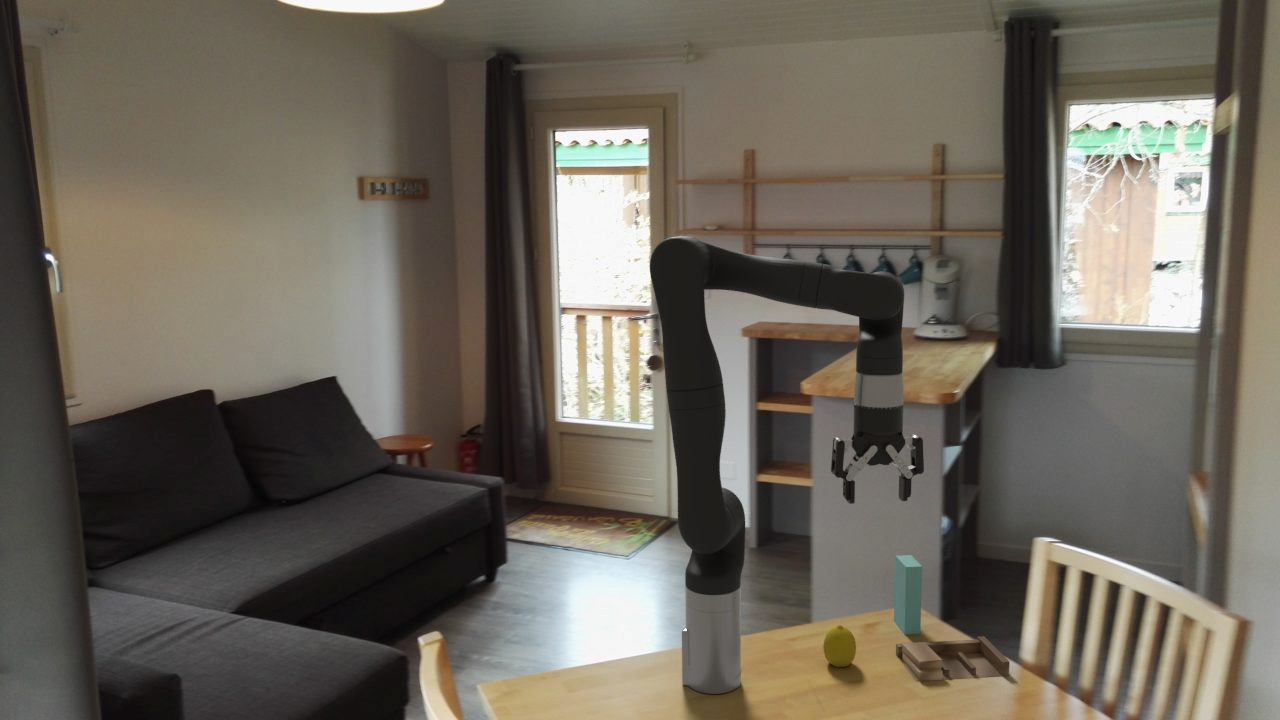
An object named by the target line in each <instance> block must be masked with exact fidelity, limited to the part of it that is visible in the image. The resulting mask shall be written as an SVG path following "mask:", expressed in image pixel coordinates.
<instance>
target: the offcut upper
mask: <svg viewBox="0 0 1280 720" xmlns="http://www.w3.org/2000/svg"><path fill="white" fill-rule="evenodd" d="M905 643H906V644H902V643H901V644H902V652H903V654H904V655H905V656H906V657H907V658H908V659H909V660H910V661H911V662H912V663H913V664H914V665H915V666H916V667H917V668H918V669H919V670H926V669H937V668H942V659H941V658H940V657H939V656H938V655H937V654H936V653H935V652H934V651H933V650H932V649H931V648H930V647H929V646H928V645H927V644H926V643H925V641H919V642H905Z"/></svg>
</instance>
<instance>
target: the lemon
mask: <svg viewBox="0 0 1280 720" xmlns="http://www.w3.org/2000/svg"><path fill="white" fill-rule="evenodd" d="M856 644H857V643H856V638H855V636H854V634H853V632H852V631H851V630H850V629H848V628H847V627H846V626H843V625H842V624H838V625H837V626H834V627H832V628H830V629H829V630H827V632H826V634H825V637H824V640H823V654H824V658H825V659H826V661H827V662H828V663H829V664H830V665H832V666H833V667H836V668H845V667H847V666H849V665H851V664H852V662H853V661H854V659H855V658H856V654H857V645H856Z"/></svg>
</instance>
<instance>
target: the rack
mask: <svg viewBox="0 0 1280 720" xmlns="http://www.w3.org/2000/svg"><path fill="white" fill-rule="evenodd" d="M924 642H925V641H924ZM906 643H907V642H905V643H904V642H903V643H896V644H895V655H896V657H897V658H898V660H899V661H900V662H901V663H902V664H901V665H902V666H904V668H905V669H906V671H908V673H909V674H910V675H911V677H912V678H913V679H914V680H915V682H920V681H919V680H918V679H917V678H916V676H915V675H914V674H913V673H912V671H911V670H910V669H909V667H908V666H907V665H906V663H905V662H904V661H903V660H902V658H903V652H902V644H906ZM925 643H926V644H927V645H928V646H929V647H930V648H931V649H932V650H933V651H934V652H935V653H936V654H937V655H938V656H939V657H940V658H941V659H942V668H940V669H941V670H942V671H943V673H942V680H941V681H943V680H944V681H945V680H946V681H947V680H962V679H978V678H995V677H1009V676H1010V660H1008V658H1007V657H1005V656H1004V655H1003V654H1002V652H1000V651H999V649H998V648H996V646H994V644H993V643H991V641H990V640H989V639H987V638H986V637H985V635H984V636H977V639H976V638H975V639H961V640H959V639H958V640H957V639H956V640H943V641H942V640H941V641H928V642H927V641H926V642H925ZM926 681H927V682H929V681H931V680H926ZM926 681H925V682H926Z"/></svg>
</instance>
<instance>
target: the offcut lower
mask: <svg viewBox="0 0 1280 720" xmlns="http://www.w3.org/2000/svg"><path fill="white" fill-rule="evenodd" d="M902 660H903V661H904V662H905V663H906V665H907V666H908V667H909V669H910V670H911V671H912V673H913V674H914V675H915V676H916V678H917V679H918V680H919V681H918V682H926V680H930V681H943V680H942V673H943V671H942V670H941V669H940V668H937V669H926V670H919V669H918V668H917V667H916V666H915V665H914V664H913V663H912V662H911V661H910V660H909V659H908V658H907V657H906V656H905V655H904V654H903V658H902Z"/></svg>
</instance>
